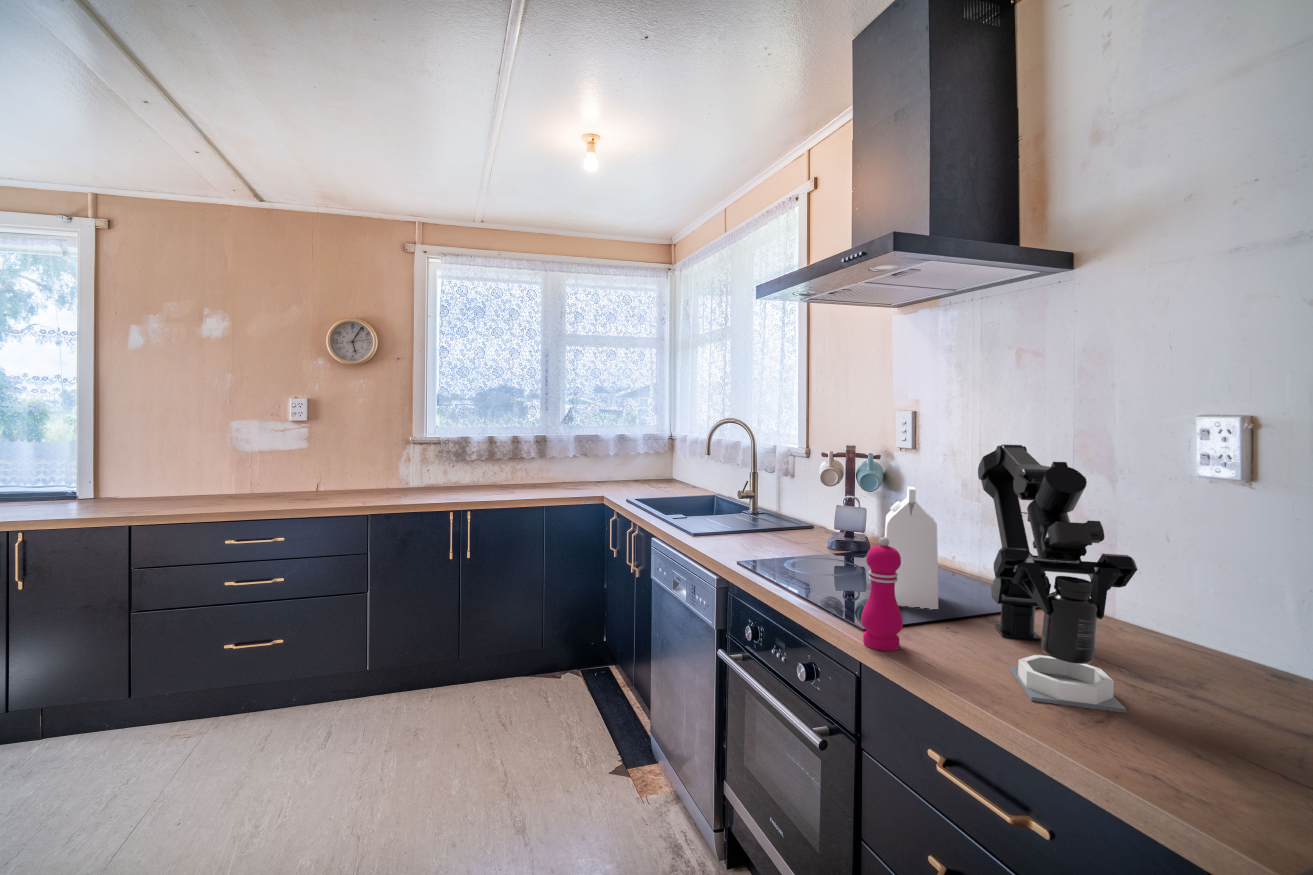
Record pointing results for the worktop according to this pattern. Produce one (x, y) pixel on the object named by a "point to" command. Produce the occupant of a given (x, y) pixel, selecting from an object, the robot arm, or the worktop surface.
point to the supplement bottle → (1070, 621)
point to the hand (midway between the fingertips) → (1074, 615)
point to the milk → (914, 552)
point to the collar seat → (1066, 683)
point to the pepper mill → (882, 599)
